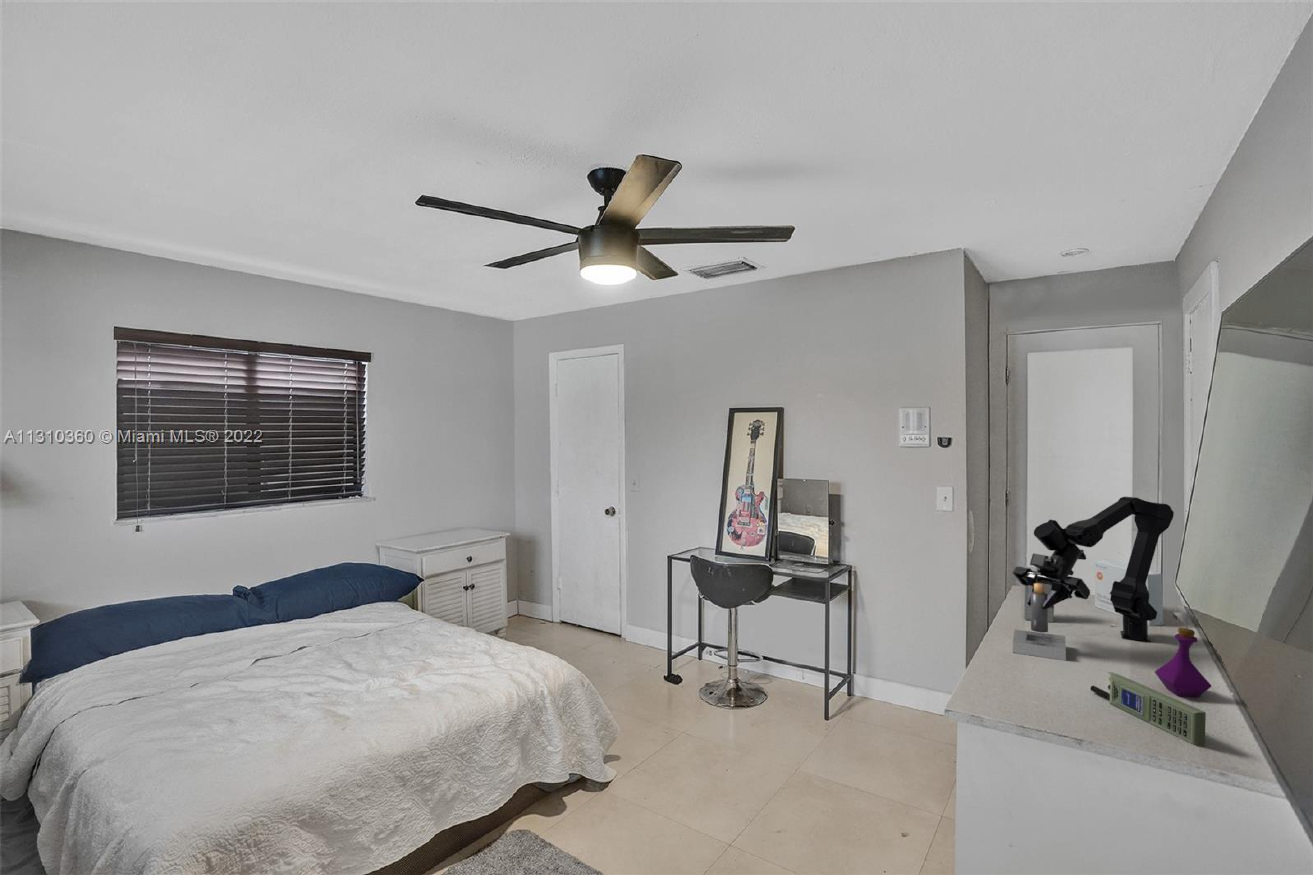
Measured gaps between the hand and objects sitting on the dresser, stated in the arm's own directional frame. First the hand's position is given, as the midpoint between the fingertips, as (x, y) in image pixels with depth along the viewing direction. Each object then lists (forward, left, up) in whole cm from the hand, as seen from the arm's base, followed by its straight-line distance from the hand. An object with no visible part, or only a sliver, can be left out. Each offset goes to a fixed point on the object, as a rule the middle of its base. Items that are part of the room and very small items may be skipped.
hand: (1035, 606), depth 173 cm
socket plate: (-1, +1, -12) cm, 12 cm away
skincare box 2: (-51, +24, -12) cm, 58 cm away
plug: (-1, +1, -7) cm, 7 cm away
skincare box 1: (-34, 0, -12) cm, 36 cm away
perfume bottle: (+16, +29, -12) cm, 35 cm away
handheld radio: (+35, +20, -12) cm, 42 cm away
